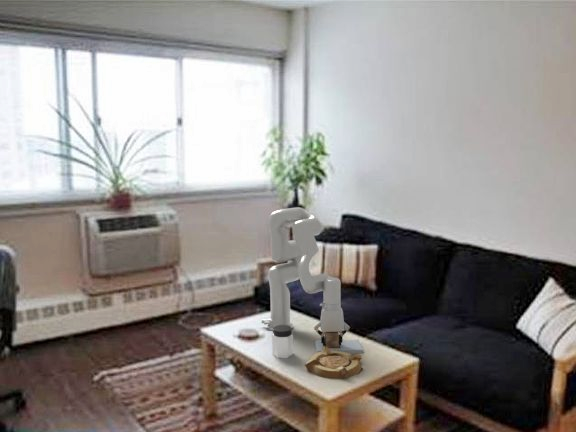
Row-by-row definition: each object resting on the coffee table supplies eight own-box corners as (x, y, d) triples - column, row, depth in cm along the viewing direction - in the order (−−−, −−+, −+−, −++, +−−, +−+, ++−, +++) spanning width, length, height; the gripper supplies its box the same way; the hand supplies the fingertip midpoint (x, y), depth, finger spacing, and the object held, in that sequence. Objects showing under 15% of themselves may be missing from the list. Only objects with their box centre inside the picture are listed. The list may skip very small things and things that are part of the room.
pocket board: (317, 354, 245) (317, 350, 245) (314, 343, 257) (314, 340, 256) (363, 353, 246) (363, 349, 245) (358, 342, 257) (358, 339, 257)
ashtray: (293, 365, 235) (293, 354, 234) (335, 351, 249) (335, 340, 248) (331, 386, 216) (331, 373, 215) (374, 369, 230) (374, 357, 229)
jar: (293, 350, 249) (292, 324, 247) (293, 358, 241) (292, 331, 239) (272, 350, 249) (272, 324, 247) (272, 358, 241) (271, 331, 239)
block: (326, 350, 248) (326, 333, 247) (324, 345, 254) (324, 328, 252) (338, 350, 248) (338, 333, 247) (337, 345, 254) (337, 328, 252)
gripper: (313, 308, 244) (313, 348, 247) (352, 308, 244) (352, 347, 247) (311, 303, 251) (311, 341, 254) (350, 302, 252) (349, 340, 255)
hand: (331, 344), depth 251 cm, fingers open, 6 cm apart
